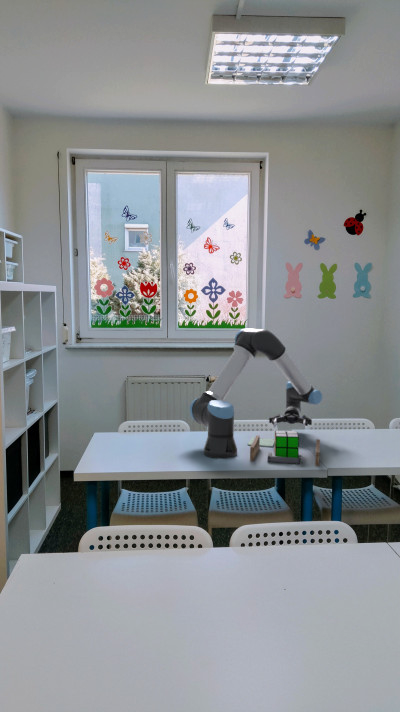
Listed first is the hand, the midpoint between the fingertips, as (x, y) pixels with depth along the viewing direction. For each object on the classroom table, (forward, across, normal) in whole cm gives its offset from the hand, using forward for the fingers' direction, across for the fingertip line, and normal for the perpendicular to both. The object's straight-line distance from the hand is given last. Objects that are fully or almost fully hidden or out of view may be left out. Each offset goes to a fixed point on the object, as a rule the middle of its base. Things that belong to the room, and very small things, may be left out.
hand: (289, 425), depth 233 cm
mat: (-6, +14, -11) cm, 18 cm away
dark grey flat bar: (+20, 0, -11) cm, 23 cm away
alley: (+13, 0, -11) cm, 17 cm away
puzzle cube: (+11, 0, -11) cm, 16 cm away
